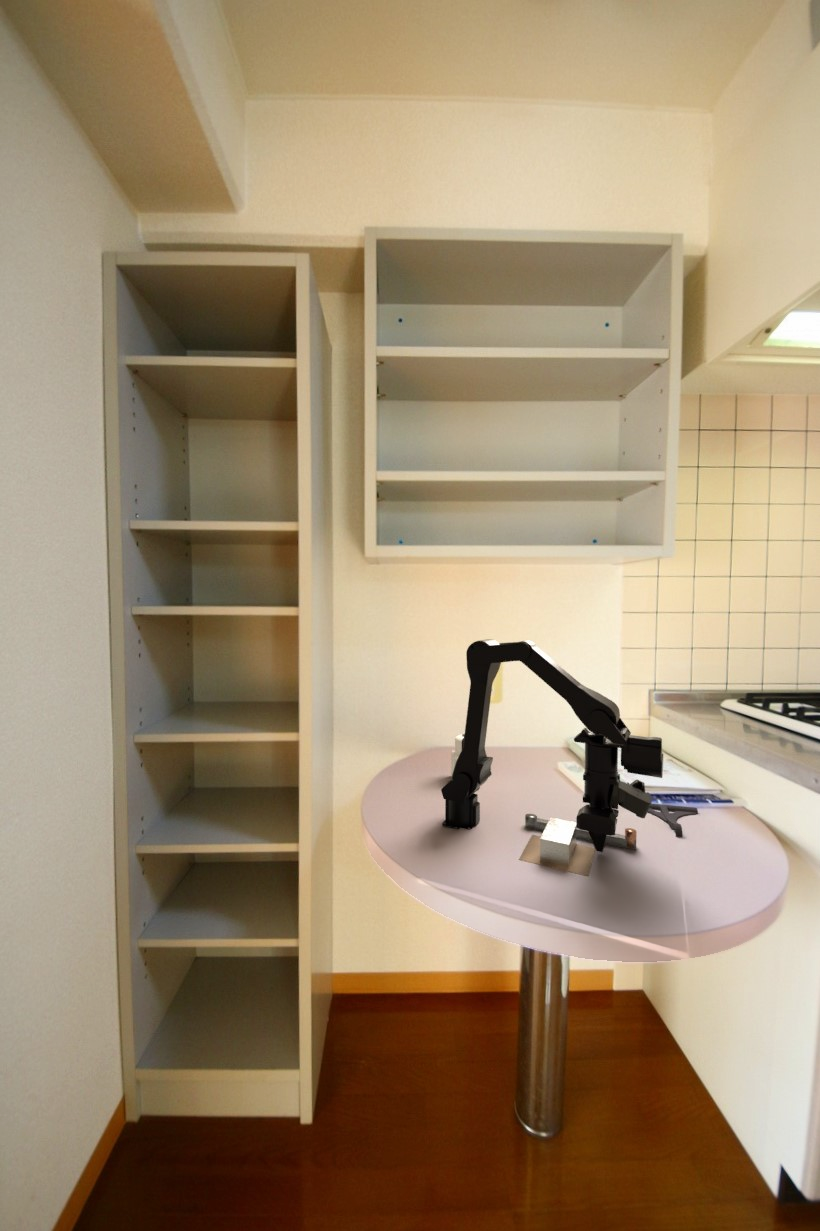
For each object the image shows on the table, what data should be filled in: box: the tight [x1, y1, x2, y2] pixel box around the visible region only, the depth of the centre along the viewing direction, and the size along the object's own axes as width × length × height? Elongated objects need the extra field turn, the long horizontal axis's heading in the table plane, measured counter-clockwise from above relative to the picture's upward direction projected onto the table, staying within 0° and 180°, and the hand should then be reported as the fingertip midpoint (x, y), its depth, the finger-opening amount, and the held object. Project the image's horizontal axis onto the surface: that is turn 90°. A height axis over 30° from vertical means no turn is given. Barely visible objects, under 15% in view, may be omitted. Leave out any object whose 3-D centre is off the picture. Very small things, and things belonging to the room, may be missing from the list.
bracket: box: [647, 802, 699, 838], centre depth 107 cm, size 14×15×3 cm
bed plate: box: [518, 834, 596, 877], centre depth 91 cm, size 12×11×1 cm
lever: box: [524, 813, 637, 851], centre depth 98 cm, size 21×2×4 cm, turn 64°
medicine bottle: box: [450, 733, 465, 777], centre depth 131 cm, size 7×7×12 cm
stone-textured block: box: [540, 817, 578, 867], centre depth 92 cm, size 5×10×4 cm, turn 154°
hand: (599, 850), depth 91 cm, fingers closed
